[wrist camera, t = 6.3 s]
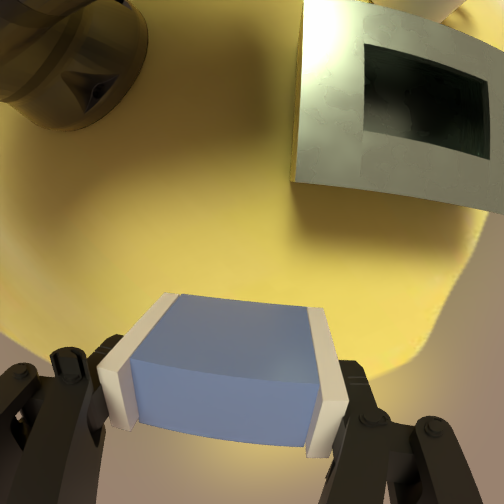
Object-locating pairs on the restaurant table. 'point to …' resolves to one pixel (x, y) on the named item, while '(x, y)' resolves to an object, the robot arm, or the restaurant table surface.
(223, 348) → the blue block
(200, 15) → the restaurant table surface
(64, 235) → the restaurant table surface
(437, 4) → the mug
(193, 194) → the restaurant table surface
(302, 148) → the coin box
